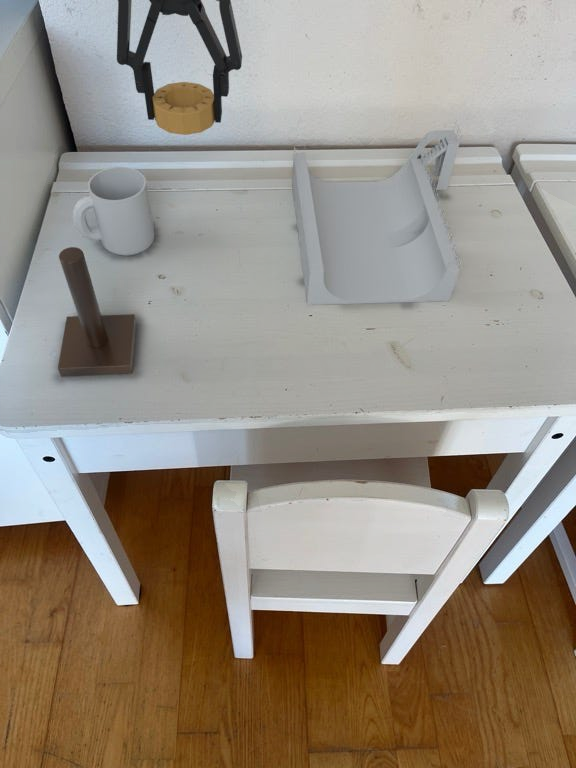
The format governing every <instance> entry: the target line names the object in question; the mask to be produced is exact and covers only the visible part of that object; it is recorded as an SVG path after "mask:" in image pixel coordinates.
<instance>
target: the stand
mask: <svg viewBox="0 0 576 768" xmlns="http://www.w3.org/2000/svg"><path fill="white" fill-rule="evenodd" d="M58 260H59V262H60V265H61V269H62V272H63V274H64V277H65V280H66V283H67V284H66V285H67V286H68V289H69V292H70V296H71V299H72V301H73V304H74V307H75V311H76V314H77V315H73V316H66V317H65V318H66V319H65V324H64V332H63V337H62V341H61V342H62V343H61V347H60V354H59V359H58V364H57V370H58V373H59V375H60V377H63V378H64V377H84V376H86V377H87V376H108V375H109V376H111V375H131V374H133V370H134V369H133V367H134V357H135V345H136V344H135V343H136V334H137V333H136V331H137V320H136V319H137V318H136V315H135V314H134V313H133V314H131V313H129V314H104V315H102V313H101V310H100V306H99V302H98V298H97V295H96V292H95V289H94V285H93V281H92V277H91V275H90V271H89V267H88V264H87V260H86V257H85V254H84V251H83V250H82V249H81V248H79V247H76V246H70V247H67V248H64V249H62V250H61V251H60V252H59V254H58Z"/></svg>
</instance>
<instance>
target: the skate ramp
mask: <svg viewBox="0 0 576 768" xmlns="http://www.w3.org/2000/svg"><path fill="white" fill-rule="evenodd" d="M448 123H449V124H454V126H453V125H449V126H447V125H445V124H448ZM445 127H446V128H450V127H451V128H453V127H454V128H453V129H445ZM456 127H457V128H456ZM461 138H462V133H461V131H460V128H459V126H458V123H457V122H456V121H449V122H444V123H443V129H442V130H440V129H438V130H437V129H435V130H430V131H429V132H427V133H425V135H424V136H423V137H422V139H421V140H420V142H419V143H418V145H417V146H416V147H415V149H413V152H411V154H410V156H409V157H408V158H407V160H406V161H405V163H404V164H403V165H402V167H401V168H400V169H399V170H398V171H397V172H396V173H395V174H393V175H391V176H390V177H388V178H386V179H382V180H378V181H377V180H376V181H334V182H333V181H325V180H321V179H319V178H317V177H316V176H314V174H312V173H311V172H310V170H309V167H308V161H307V155H306V152H296V150H297V149H296V146H299V147H300V146H301V147H302V146H304V147H305V148H306V146H307V145H306V144H303V145H302V144H301V145H300V144H295V145H294V147H293V156H292V157H293V159H292V179H291V181H292V182H291V189H292V196H293V197H292V198H293V205H294V211H295V220H296V227H297V235H298V243H299V251H300V260H301V266H302V267H301V268H302V276H303V284H304V289H305V290H304V291H305V299H306V306H316V305H317V306H318V305H321V306H322V305H353V304H356V305H357V304H359V305H360V304H387V303H388V304H391V303H425V302H426V303H428V302H450V300H451V298H452V294H453V292H454V288H455V286H456V283H457V279H458V277H459V274H460V271H461V266H462V263H463V261H462V259H461V255H460V253H459V250H458V247H457V244H456V242H455V239H454V236H453V232H452V229H451V227H450V224H449V222H448V219H447V216H446V212H445V210H444V207H443V204H442V201H441V198H440V195H439V193H438V190H439V191H441V190H442V191H444V193H443V197H445V195H446V192H447V190H448V187H449V183H450V180H451V177H452V173H453V168H454V165H455V161H456V158H457V154H458V151H459V147H460V142H461V140H462V139H461ZM436 140H438V142H437V144H434V147H431V148H430V149H428V150H427V152H424V153H423V154H424V155H422V152H423V150H424V149H425V148H426V147H427V145H428V144H429V143H431V142H433V141H436ZM433 161H434V163H433V168H432V172H431V170H430V167H429V165H428V164H430V163H431V162H433ZM433 177H435V179H433ZM437 177H438V179H437ZM436 181H437V185H436ZM438 199H439V200H438ZM441 207H442V208H441ZM446 222H447V223H446ZM449 231H450V232H449ZM452 239H453V240H452ZM456 250H457V252H456ZM458 256H459V258H458Z"/></svg>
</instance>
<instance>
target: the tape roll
mask: <svg viewBox="0 0 576 768" xmlns="http://www.w3.org/2000/svg"><path fill="white" fill-rule="evenodd" d="M152 103H153V110H154V120H155V123H156V125H157V127H158V128H160V129H162V130H163V131H165V132H167V133H169V134H175V135H184V136H187V135H188V136H189V135H195V134H199V133H200V134H201V133H203V132H205V131H206V130H209V129H210V128H212V127H213V126H214V124H215V109H214V92H213V91H212V89H211V88H209V87H207V86H204V85H203V84H200V83H197V82H196V83H195V82H189V81H181V82H172V83H167V84H165V85H163V86H161V87H159V88H157V89H156V90H155V91H154V95H153V97H152Z"/></svg>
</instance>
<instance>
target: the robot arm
mask: <svg viewBox="0 0 576 768" xmlns="http://www.w3.org/2000/svg"><path fill="white" fill-rule="evenodd" d="M148 1H149V3H150V6H149V8H148V12H147V16H146V19H145V22H144V25H143V28H142V31H141V35H140V37H139V40H138V44H137V47H136V49H135V52H134V51H131V49H130V48H131V23H132V0H117V2H118V3H117V33H116V35H117V36H116V37H117V38H116V40H117V41H116V44H117V45H116V62H117V63H118V64H119V65H121V66H124V65H126V66H128V67H130V68H131V69H132V71H133V77H134V85H135V90H136V92H137V93H138V94H144V101H145V109H146V114H147V120H149V121H154V120H155V118H154V110H153V103H152V97H153V95H154V93H155V89H154V79H153V73H152V65H151V61H145V58H146V55H147V53H148V49H149V46H150V43H151V40H152V37H153V34H154V30H155V28H156V25H157V22H158V20H159V16H160V13H161V15H162V16H171V15H174V14H175V15H179V16H181V17H188V16H189V18H190V20H191V22H192V24H193V25H194V26H195V28H196V30H197V32H198V33H199V35H200V38H201V40H202V42H203V44H204V46H205V48H206V49H207V51H208V53H209V55H210V57H211V60H212V62H213V64H214V65H213V70H212V88H213V89H212V90H213V94H214V109H215V121H214V123H215V124H217V123H219V124H220V123H221V122H222V115H223V103H222V97H223V98H224V97H225V98H226V97H228V95H229V92H230V72H231V71H233V70H235V71H238V70H240V69H241V68H242V62H243V54H242V48H241V44H240V39H239V35H238V29H237V24H236V19H235V14H234V11H233V10H234V9H233V5H232V1H231V0H215V1H216V2H218V7H219V14H220V18H221V23H222V27H223V32H224V37H225V42H226V45H227V49H228V54H229V55H227V54H226V52H225V49H224V48H223V45H222V43H221V41H220V38H219V37H218V34H217V33H216V31H215V29H214V27H213V25H212V23H211V20H210V19H209V16H208V14H207V12H206V8H205V5H204V3H203V1H202V0H148Z"/></svg>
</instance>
